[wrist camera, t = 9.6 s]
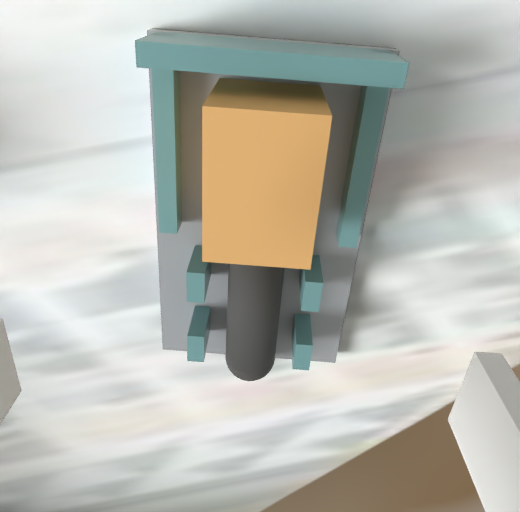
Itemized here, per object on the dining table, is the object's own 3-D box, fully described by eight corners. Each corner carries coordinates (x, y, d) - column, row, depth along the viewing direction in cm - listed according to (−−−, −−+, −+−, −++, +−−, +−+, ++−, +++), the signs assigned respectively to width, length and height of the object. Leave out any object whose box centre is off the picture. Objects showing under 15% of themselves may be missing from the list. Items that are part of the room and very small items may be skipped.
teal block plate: (333, 352, 33) (341, 408, 29) (165, 339, 33) (148, 393, 29) (394, 48, 23) (421, 63, 19) (152, 28, 23) (122, 39, 18)
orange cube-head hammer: (286, 359, 32) (287, 431, 27) (214, 353, 32) (202, 424, 27) (320, 85, 23) (332, 115, 18) (219, 78, 23) (202, 105, 18)
